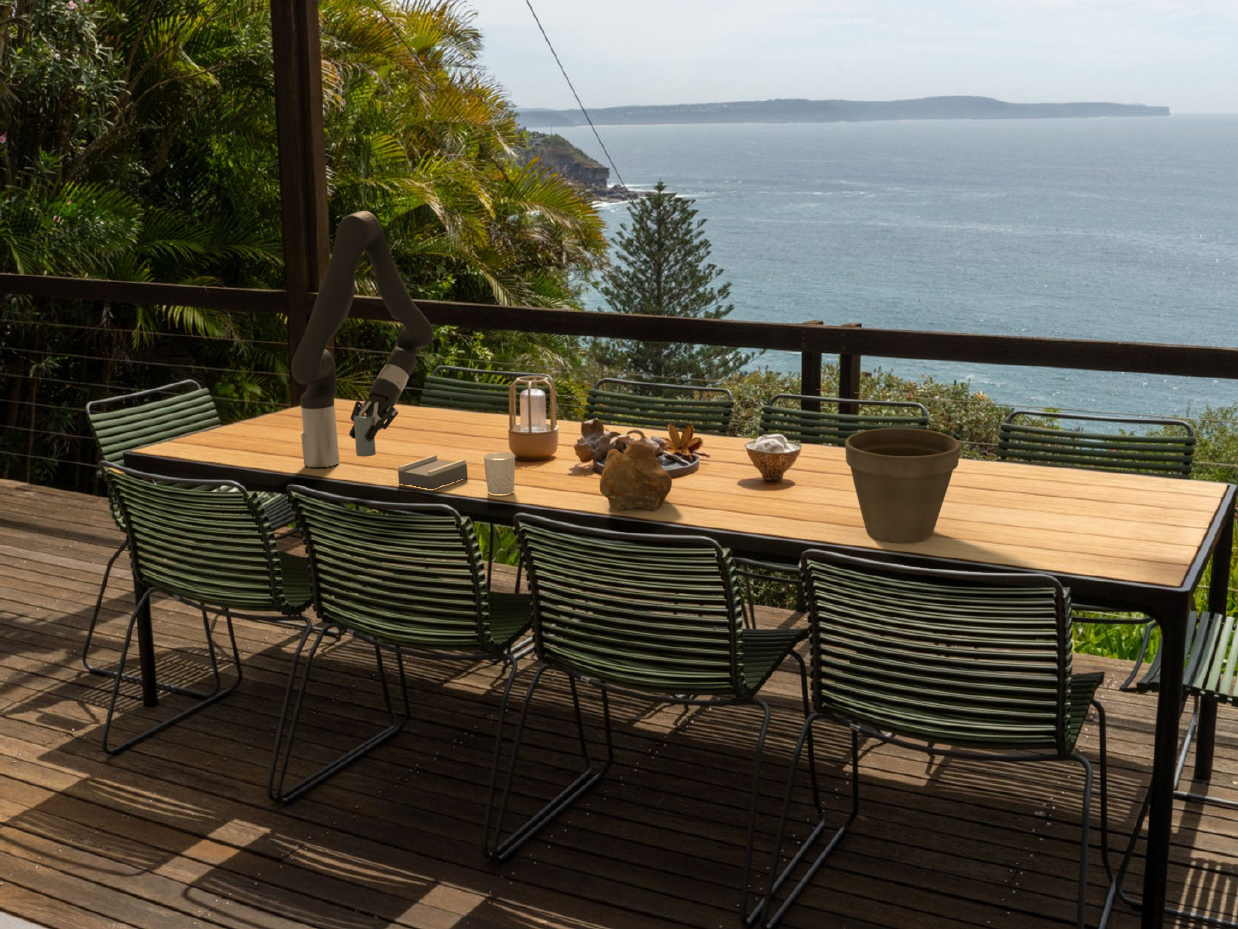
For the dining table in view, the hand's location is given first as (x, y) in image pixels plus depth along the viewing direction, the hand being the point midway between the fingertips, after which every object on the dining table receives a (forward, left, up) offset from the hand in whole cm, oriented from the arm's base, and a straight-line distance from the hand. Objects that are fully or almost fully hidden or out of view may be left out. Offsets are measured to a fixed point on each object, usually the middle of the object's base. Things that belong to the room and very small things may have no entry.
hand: (359, 438), depth 312 cm
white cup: (+37, -4, -14) cm, 40 cm away
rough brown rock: (+74, -15, -14) cm, 76 cm away
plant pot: (+133, -39, -14) cm, 139 cm away
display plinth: (+17, +7, -14) cm, 23 cm away
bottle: (+1, +2, -5) cm, 5 cm away
